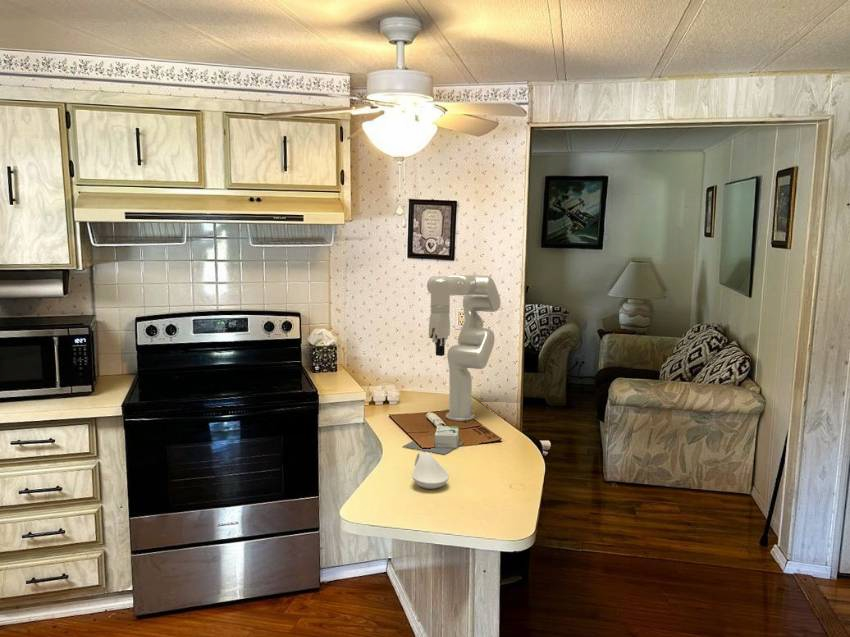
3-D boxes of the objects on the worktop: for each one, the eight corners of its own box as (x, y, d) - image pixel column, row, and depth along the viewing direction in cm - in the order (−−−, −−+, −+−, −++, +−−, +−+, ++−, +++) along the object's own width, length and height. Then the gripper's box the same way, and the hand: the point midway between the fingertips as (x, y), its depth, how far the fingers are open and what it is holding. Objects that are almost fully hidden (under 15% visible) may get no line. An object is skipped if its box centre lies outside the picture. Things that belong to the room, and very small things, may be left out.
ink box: (459, 425, 266) (457, 435, 255) (459, 438, 267) (457, 448, 255) (436, 425, 267) (434, 435, 256) (436, 437, 268) (434, 447, 256)
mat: (423, 436, 271) (423, 435, 271) (464, 443, 263) (464, 442, 262) (402, 447, 258) (402, 446, 258) (444, 455, 249) (444, 454, 249)
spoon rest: (452, 491, 215) (452, 469, 214) (415, 494, 213) (415, 472, 212) (436, 466, 238) (437, 446, 237) (403, 468, 236) (403, 448, 235)
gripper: (440, 307, 280) (440, 351, 283) (422, 311, 268) (422, 357, 270) (457, 308, 277) (457, 353, 279) (439, 312, 264) (439, 359, 266)
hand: (440, 355), depth 275 cm, fingers closed
